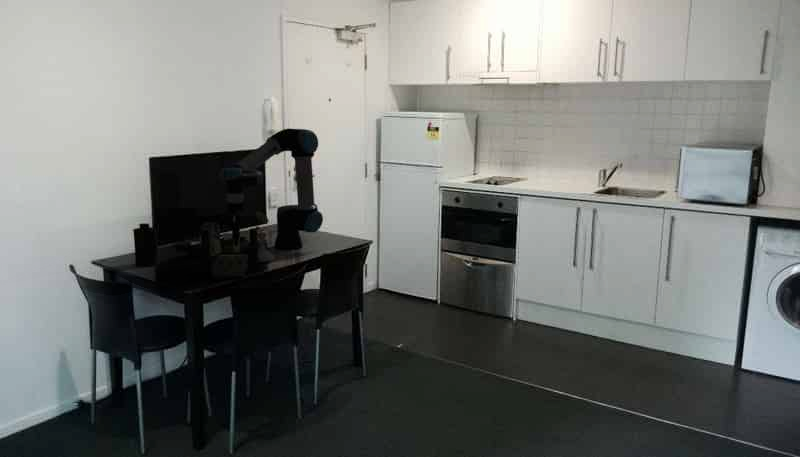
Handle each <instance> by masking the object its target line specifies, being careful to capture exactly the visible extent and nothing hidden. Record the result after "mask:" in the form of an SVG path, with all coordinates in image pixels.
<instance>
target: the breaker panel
mask: <svg viewBox="0 0 800 457" xmlns="http://www.w3.org/2000/svg"><path fill="white" fill-rule="evenodd" d="M228 255H229V254H217V257H216V259H215V260H214V262H213V264H212V265H211V278H212V279H218V278H219V279H221V278H224V279H225V278H227V277H230V278H244V277H245V276H246V275H245V274H246V272H247V269H248V267H249V254H232V255H233V257H234V260H233V261H227V256H228Z"/></svg>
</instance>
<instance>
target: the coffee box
mask: <svg viewBox="0 0 800 457" xmlns="http://www.w3.org/2000/svg"><path fill="white" fill-rule="evenodd" d="M220 227H221V226H220V222H214V221H208V222H205V223H203V224H201V225H199V230H200V232H199V233H200V235H201V229H209V242H210V257H215V256H216V255H219V254H220V253H222V251H221V250H222V249H221V246H222V245H221V230H220ZM200 246H201V247H200V248H201V249H200V250H201V253H202V245H201V244H200Z"/></svg>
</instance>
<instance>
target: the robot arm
mask: <svg viewBox="0 0 800 457" xmlns="http://www.w3.org/2000/svg"><path fill="white" fill-rule="evenodd" d="M318 147H319V138H318V136H317V134H316V133H314V131H313V130H310V129H305V128H284V129H281V130H280V131H277V132H275V133H274V134H272V135H271V136H270V137H268V138H267V139H266V140H265V143H263V144H262V145H260V146H259V147H258V148H256V149H255V150H253V151H252V152H250V153H249V154H248V155H246V156H245V157H243V158H242V159H241V160H239V161H238V162H236V163H235V164H234V165H232V166H231V167H224V168H222V169H221V170H220V171H219V174H218V178H219V180H220V181H221V183H223V184H225V192H226V194H224V196H225V198H226V211H228V212H231V214H230V223H231V233H232V236H231V239H232V243H233V244H232V245H233V246H232V247H233V253H240V251H241V247H240V246H241V245H240V238H241V237H242V235H241V232H240V231H241V230H240V229H241V228H240V223H241V218H240V217H241V213H240V212H241V211H244V210H245V209H244V206H245V205H244V202H243V201H244V188H252V187H258V186H261V185H262V184H263V182H264V175H263V172H261V171H260V170H259V169H257V168H259V167H260V166H261V165H263V164H264V163H265V162H267V161H268V160H269V159H271V158H272V157H274V156H277V155H280V154H282V153H284V152H291V154H290V155H291V157H292V158H293V159H294V167H295V178H296V180H295V181H296V194H297V195H296V196H297V204H287V205H282V206H281V205H280V206H279V207H277V209H276V230H277V234H276V238H275V241H274V244H273V245H274V249H276V250H280V251H294V250H300V249H302V248H303V241H302V237H301V235H300V232H304V233H316V232H318V231H319V230H320V229H321V227H322V224H323V223H324V222H323V221H324V217H323V214H322V212H320V211H319V209H318V205H317V204H316V203H315V193H314V177H313V162H312V161H313V160H312V158H314V156H315V153H316V152H317V150H318Z"/></svg>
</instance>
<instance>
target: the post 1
mask: <svg viewBox="0 0 800 457" xmlns="http://www.w3.org/2000/svg"><path fill="white" fill-rule="evenodd" d="M201 245H202V252H201V261H202V263H201V266H202V273H210V272H212V269H211V267H212V265H211V256H210V242H209V229H201V234H200V246H201Z"/></svg>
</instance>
